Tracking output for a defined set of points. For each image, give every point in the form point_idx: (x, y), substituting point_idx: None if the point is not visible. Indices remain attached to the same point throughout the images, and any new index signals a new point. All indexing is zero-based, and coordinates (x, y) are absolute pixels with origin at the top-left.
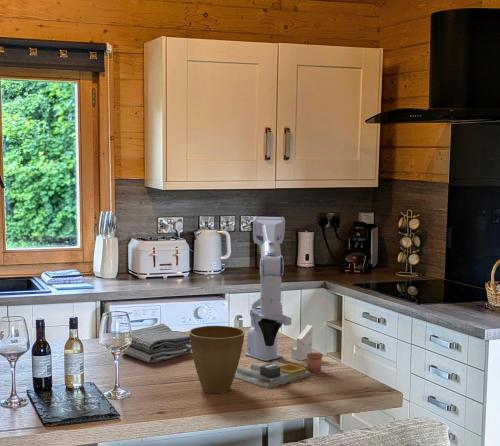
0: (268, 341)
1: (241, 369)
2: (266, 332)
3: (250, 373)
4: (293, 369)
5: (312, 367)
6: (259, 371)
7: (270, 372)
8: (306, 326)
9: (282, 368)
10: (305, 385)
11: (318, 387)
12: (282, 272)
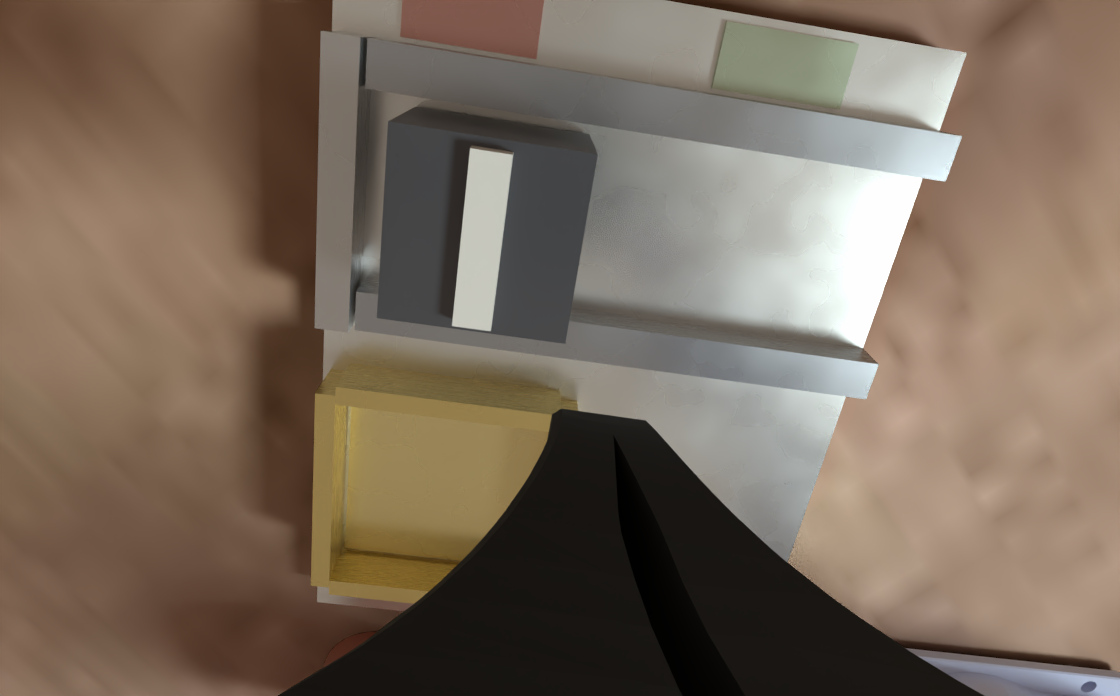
0: (546, 448)
1: (890, 141)
2: (600, 568)
3: (716, 96)
4: None
5: None
6: (718, 314)
7: (398, 119)
8: None
9: None
10: (147, 325)
11: (20, 356)
12: None
